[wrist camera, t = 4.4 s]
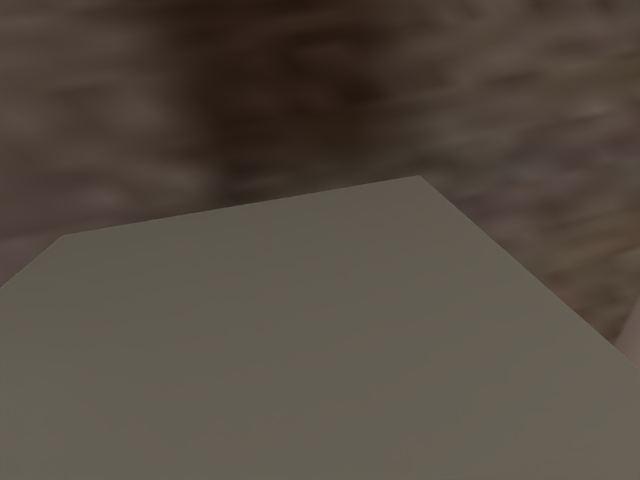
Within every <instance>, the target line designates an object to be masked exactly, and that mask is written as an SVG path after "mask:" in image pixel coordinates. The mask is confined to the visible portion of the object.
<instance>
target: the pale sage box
mask: <svg viewBox="0 0 640 480" xmlns="http://www.w3.org/2000/svg"><path fill="white" fill-rule="evenodd" d="M0 480H640V369H639V368H638V367H637V366H635V365H634V364H633V363H632V362H631V361H630V360H629V359H627V358H626V357H625V356H624V355H623V354H622V353H621V352H619V351H618V350H617V349H616V348H615V347H614V346H613V345H612V344H611V343H609V342H608V341H607V340H606V339H605V338H604V337H603V336H601V335H600V334H599V333H598V332H597V331H596V330H595V329H593V328H592V327H591V326H590V325H589V324H588V323H587V322H586V321H584V320H583V319H582V318H581V317H580V316H579V315H578V314H576V313H575V312H574V311H573V310H572V309H571V308H570V307H568V306H567V305H566V304H565V303H564V302H563V301H562V300H561V299H559V298H558V297H557V296H556V295H555V294H554V293H553V292H551V291H550V290H549V289H548V288H547V287H546V286H545V285H544V284H542V283H541V282H540V281H539V280H538V279H537V278H536V277H534V276H533V275H532V274H531V273H530V272H529V271H528V270H526V269H525V268H524V267H523V266H522V265H521V264H520V263H519V262H517V261H516V260H515V259H514V258H513V257H512V256H511V255H509V254H508V253H507V252H506V251H505V250H504V249H503V248H501V247H500V246H499V245H498V244H497V243H496V242H495V241H494V240H492V239H491V238H490V237H489V236H488V235H487V234H486V233H484V232H483V231H482V230H481V229H480V228H479V227H478V226H476V225H475V224H474V223H473V222H472V221H471V220H470V219H469V218H467V217H466V216H465V215H464V214H463V213H462V212H461V211H459V210H458V209H457V208H456V207H455V206H454V205H453V204H451V203H450V202H449V201H448V200H447V199H446V198H445V197H444V196H442V195H441V194H440V193H439V192H438V191H437V190H436V189H434V188H433V187H432V186H431V185H430V184H429V183H428V182H427V181H425V180H424V179H423V178H422V177H421V176H420V175H417V176H411V177H405V178H399V179H393V180H387V181H381V182H375V183H369V184H364V185H358V186H352V187H346V188H340V189H334V190H328V191H322V192H316V193H310V194H304V195H298V196H292V197H287V198H281V199H275V200H269V201H263V202H257V203H251V204H245V205H239V206H233V207H227V208H221V209H216V210H210V211H204V212H198V213H192V214H186V215H180V216H174V217H168V218H162V219H156V220H150V221H144V222H139V223H133V224H127V225H121V226H115V227H109V228H103V229H97V230H91V231H85V232H79V233H73V234H68V235H62V236H61V237H60V238H59V239H58V240H56V241H55V242H54V243H53V244H52V245H50V246H49V247H48V248H47V249H46V250H44V251H43V252H42V253H41V254H40V255H39V256H37V257H36V258H35V259H34V260H33V261H31V262H30V263H29V264H28V265H27V266H25V267H24V268H23V269H22V270H21V271H20V272H18V273H17V274H16V275H15V276H14V277H12V278H11V279H10V280H9V281H8V282H7V283H5V284H4V285H3V286H2V287H1V288H0Z"/></svg>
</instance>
